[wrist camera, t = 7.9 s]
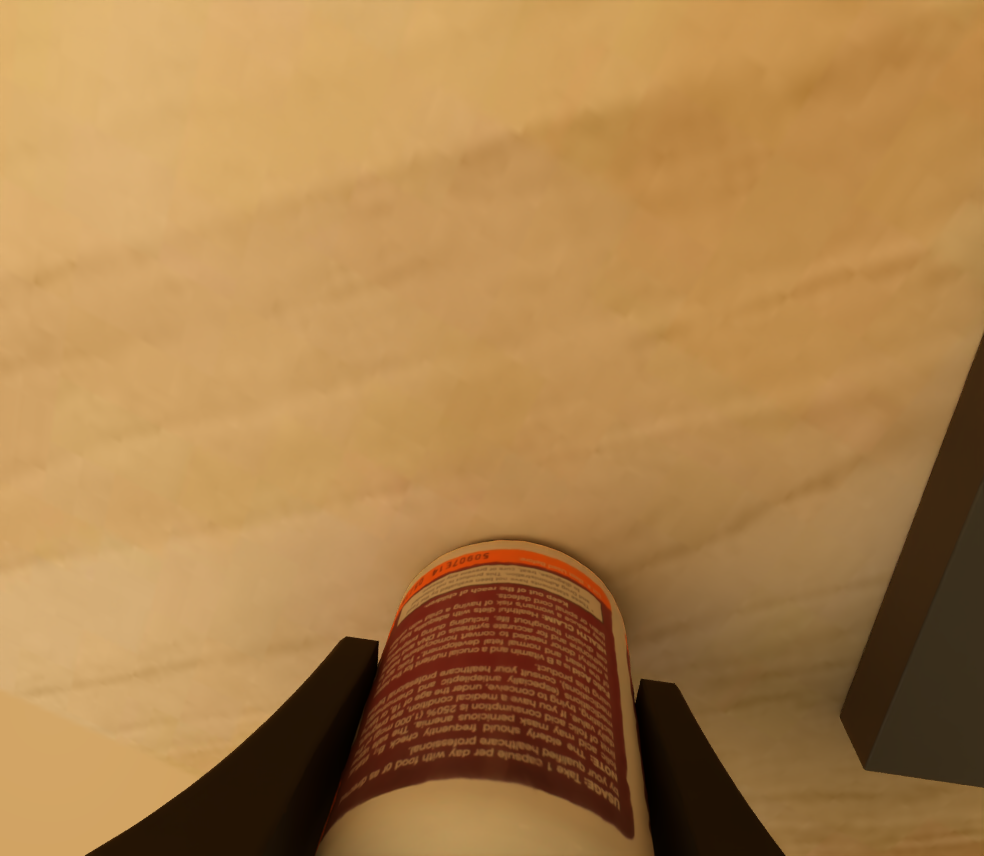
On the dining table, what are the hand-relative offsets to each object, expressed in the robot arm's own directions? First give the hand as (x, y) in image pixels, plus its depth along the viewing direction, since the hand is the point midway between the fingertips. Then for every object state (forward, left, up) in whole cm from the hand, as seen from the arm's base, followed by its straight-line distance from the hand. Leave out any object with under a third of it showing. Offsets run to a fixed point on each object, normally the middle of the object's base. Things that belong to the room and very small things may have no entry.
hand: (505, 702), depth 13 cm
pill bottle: (0, 0, -2) cm, 2 cm away
